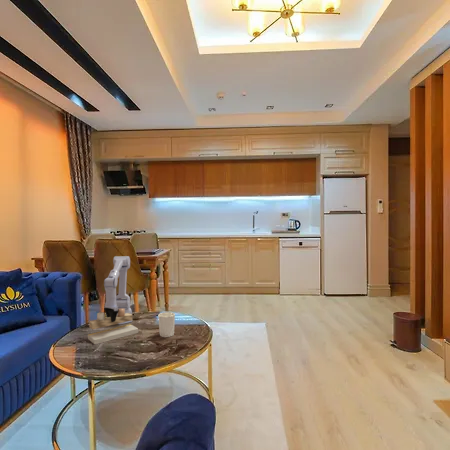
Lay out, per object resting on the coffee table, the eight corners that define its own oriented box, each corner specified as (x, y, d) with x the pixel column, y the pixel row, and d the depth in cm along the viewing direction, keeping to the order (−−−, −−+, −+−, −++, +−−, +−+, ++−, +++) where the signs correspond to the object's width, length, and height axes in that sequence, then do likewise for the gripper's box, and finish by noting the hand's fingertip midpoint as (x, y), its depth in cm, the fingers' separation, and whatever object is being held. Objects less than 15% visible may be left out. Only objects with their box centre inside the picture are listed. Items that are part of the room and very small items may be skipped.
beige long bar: (128, 318, 199) (128, 312, 199) (132, 320, 195) (132, 314, 195) (89, 327, 183) (89, 321, 183) (92, 329, 179) (92, 323, 179)
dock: (130, 328, 200) (130, 323, 200) (138, 332, 191) (138, 328, 191) (87, 338, 182) (87, 334, 182) (94, 344, 174) (94, 339, 174)
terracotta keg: (123, 314, 196) (123, 307, 196) (125, 315, 193) (125, 309, 193) (116, 315, 193) (116, 309, 193) (119, 317, 190) (119, 310, 190)
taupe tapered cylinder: (103, 318, 188) (102, 311, 188) (105, 320, 185) (105, 313, 185) (96, 320, 185) (96, 313, 185) (98, 321, 182) (98, 314, 182)
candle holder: (177, 331, 192) (176, 312, 192) (172, 337, 182) (172, 317, 182) (161, 331, 193) (161, 311, 193) (156, 337, 183) (155, 317, 183)
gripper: (99, 296, 191) (100, 319, 192) (109, 301, 180) (109, 324, 181) (111, 294, 196) (111, 316, 196) (121, 299, 185) (121, 322, 185)
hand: (111, 320), depth 189 cm, fingers closed on beige long bar, 5 cm apart
